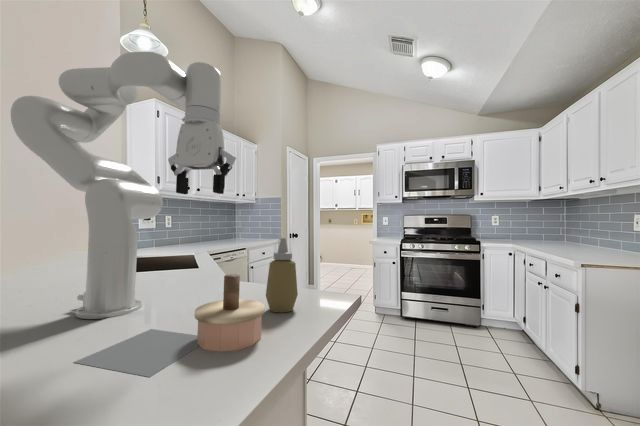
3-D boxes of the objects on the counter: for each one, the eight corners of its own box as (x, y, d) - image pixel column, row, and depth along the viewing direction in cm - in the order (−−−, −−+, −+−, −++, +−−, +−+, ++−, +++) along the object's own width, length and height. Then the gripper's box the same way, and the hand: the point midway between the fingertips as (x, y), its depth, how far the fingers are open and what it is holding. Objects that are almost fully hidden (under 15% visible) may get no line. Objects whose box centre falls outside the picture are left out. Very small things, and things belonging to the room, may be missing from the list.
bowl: (184, 348, 48) (185, 318, 48) (221, 326, 59) (222, 302, 59) (241, 357, 45) (242, 325, 46) (270, 332, 56) (270, 306, 56)
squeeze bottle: (292, 316, 66) (293, 239, 67) (259, 313, 68) (262, 238, 69) (301, 306, 74) (302, 238, 75) (272, 304, 76) (274, 237, 76)
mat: (73, 364, 42) (73, 362, 42) (151, 331, 55) (151, 328, 55) (149, 379, 38) (149, 376, 38) (212, 339, 52) (212, 337, 52)
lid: (178, 319, 48) (179, 279, 48) (221, 300, 60) (222, 268, 60) (243, 327, 45) (245, 284, 45) (275, 306, 57) (276, 272, 57)
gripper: (159, 116, 64) (155, 191, 63) (226, 110, 59) (223, 191, 59) (182, 128, 71) (180, 195, 70) (244, 123, 67) (242, 195, 66)
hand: (199, 193), depth 65 cm, fingers open, 9 cm apart
